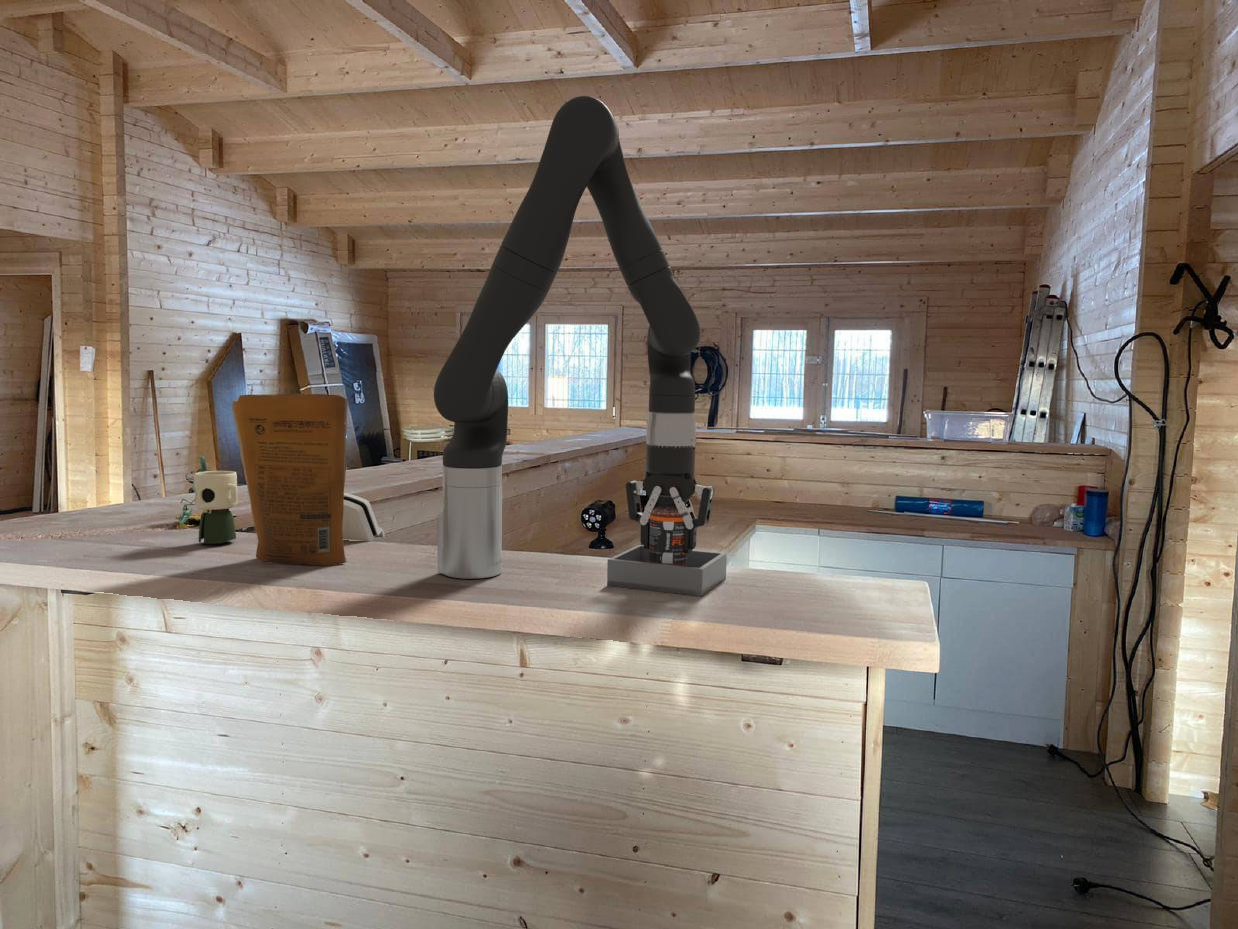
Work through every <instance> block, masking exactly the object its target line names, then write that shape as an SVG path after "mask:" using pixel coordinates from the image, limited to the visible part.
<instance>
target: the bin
mask: <svg viewBox="0 0 1238 929" xmlns="http://www.w3.org/2000/svg"><path fill="white" fill-rule="evenodd" d="M727 556H728V555H727V553H726V552H720V551H719V552H717V551H708V550H707V551H706V550H697V549H693V550H692V552H690V553H687V561H686V566H676V565H666V564H657V563H649V549H644V545H641V544H637V545H636V546H633V547H631V548H629V549H626V550H624V551H623V552H621V553H618V554H616V555H614V556H611V557H610V558H608V559H607V565H606V566H607V570H606V571H607V572H606V573H607V575H606V583H607V584H606V585H607V586H608V587H609V586H610V587H618V588H619V587H620V588H627V589H635V590H645V591H653V592H660V593H661V592H662V593H670V594H677V595H678V594H679V595H687V596H694V597H695V596H698V597H703V596H704V595H706V594H707V593H708V592H710V591H711V590H713V589H714V588H715V587H716V586H718V585H719V584H721V583H722V582H723V581H724V580H725V579H727V560H728V559H727V558H728V557H727Z"/></svg>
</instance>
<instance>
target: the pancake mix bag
mask: <svg viewBox="0 0 1238 929" xmlns="http://www.w3.org/2000/svg"><path fill="white" fill-rule="evenodd" d="M348 403H349V399H348V398H346V397H344V396H341V395H339V394H326V393H325V394H324V393H289V394H288V393H286V394H240V395H239V396H238V398H237V400H232V404H231V405H232V406H231V407H232V408H231V410H232V411H231V412H232V419H233V422H234V424H235V430H236V435H237V440H238V449H239V454H240V461H241V463H242V466H243V473H244V478H245V482H246V483H245V484H246V487H247V493H248V498H249V503H250V504H249V505H250V510H251V514H252V515H251V516H252V519H253V520H252V521H253V526H254V529H255V533H256V537H257V538H256V539H257V544H256V545H257V546H256V550H255V551H256V553H255V558H256V559H257V560H258V561H259V562H260V563H266V564H285V565H286V564H288V565H290V564H291V565H305V566H306V565H308V566H318V567H319V566H321V567H322V566H323V567H324V566H335V565H340V564H345V563H347V558H346V555H345V548H344V546H345V545H344V539H343V532H342V522H343V514H344V508H343V505H344V493H345V484H346V471H347V469H346V468H347V466H346V465H347V464H346V462H347V432H348Z"/></svg>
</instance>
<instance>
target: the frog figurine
mask: <svg viewBox="0 0 1238 929" xmlns="http://www.w3.org/2000/svg"><path fill="white" fill-rule="evenodd" d="M199 461H200V468H199V469H197V471H196V472H195V473H198V472H205V471H210V470H208V469H207V462H206V458H205V456H203V455H201V456H200V457H199ZM216 471H221V470H220V469H218V470H216ZM192 488H193V493H195V488H194V480H193V482H192ZM184 501H185V502H186V503H185V504H183V506H182V507H183V508H182V513H181V514H180V515H177V516H175V517H174V519H175V520H178V521H179V524H178V525H176V529H177V530H178V529H179V530H180V529H181V530H182V529H183V530H184V529H189V528H193V527H195V526H194V525H195V524H192V525H189V522H188V521H189V520H188V519H195V520H194V521H200V519H201V515H202V513H203V511H202V512H195V513H194V514H195V515H193V514H192V513H193V511H194V509H193V508H191V509H190V510H189V508H188V506H195V502H194V501H195V498H194V499H193V500H192V501H191V502H190V501H189V500H188V499H187V500H186V499H184V498H182V499H181V501H180V504H182V503H183V502H184ZM187 503H189V504H187ZM196 513H197V514H198V515H197V514H196ZM199 513H201V514H199ZM185 523H186V524H187V523H188V524H187V525H186V524H185Z"/></svg>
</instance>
